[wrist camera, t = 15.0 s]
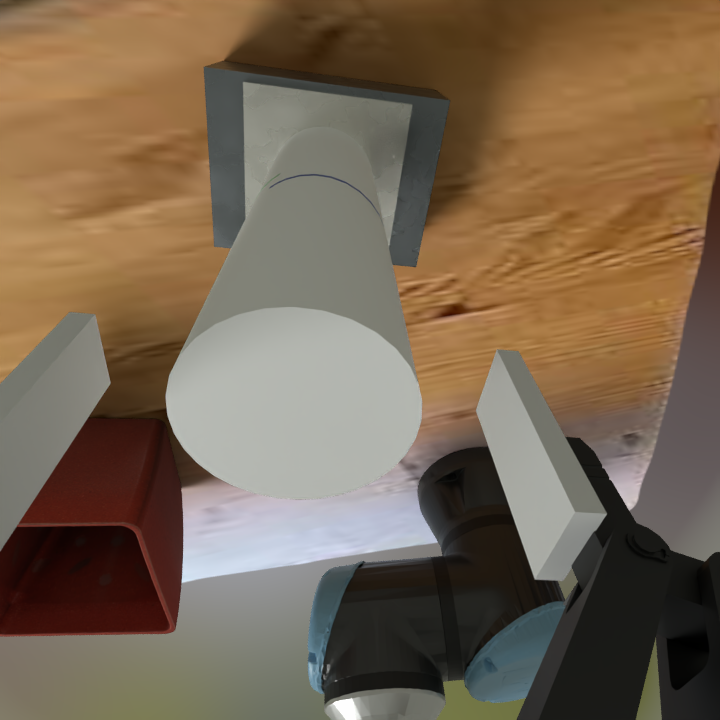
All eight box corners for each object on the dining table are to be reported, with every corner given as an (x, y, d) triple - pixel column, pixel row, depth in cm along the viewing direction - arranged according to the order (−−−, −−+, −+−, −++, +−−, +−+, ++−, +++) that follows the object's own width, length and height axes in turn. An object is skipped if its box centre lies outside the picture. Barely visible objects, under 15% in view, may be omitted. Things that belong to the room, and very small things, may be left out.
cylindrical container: (385, 212, 35) (446, 468, 15) (296, 242, 36) (239, 519, 16) (354, 110, 31) (379, 268, 11) (255, 147, 32) (110, 355, 12)
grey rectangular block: (435, 90, 36) (451, 101, 31) (407, 239, 43) (416, 269, 38) (223, 60, 35) (202, 67, 30) (229, 220, 42) (213, 248, 36)
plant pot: (189, 396, 53) (136, 526, 39) (212, 504, 64) (176, 635, 50) (13, 393, 52) (-105, 525, 38) (66, 503, 63) (-10, 637, 49)
